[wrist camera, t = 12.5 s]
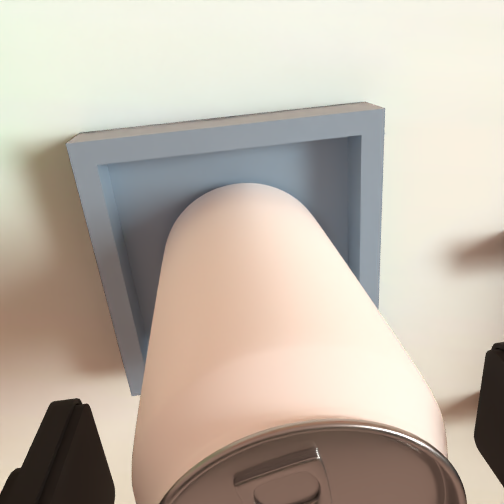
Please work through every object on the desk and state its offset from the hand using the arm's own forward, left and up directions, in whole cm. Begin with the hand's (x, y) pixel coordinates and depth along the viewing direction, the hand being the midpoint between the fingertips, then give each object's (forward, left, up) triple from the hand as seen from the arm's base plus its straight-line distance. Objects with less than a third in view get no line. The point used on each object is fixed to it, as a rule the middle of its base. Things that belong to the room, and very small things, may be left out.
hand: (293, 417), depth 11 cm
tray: (0, 0, -9) cm, 9 cm away
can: (0, 0, -9) cm, 9 cm away
